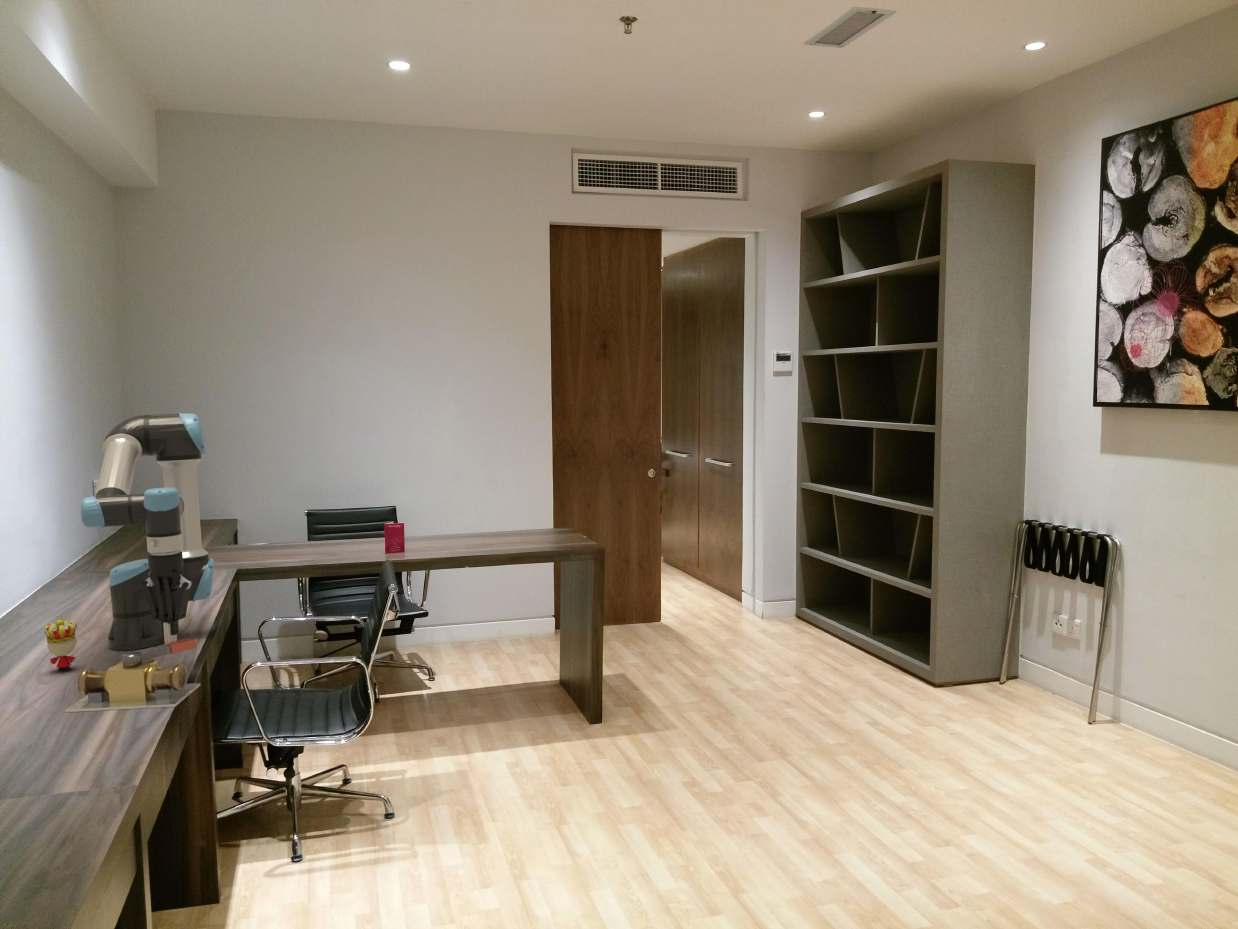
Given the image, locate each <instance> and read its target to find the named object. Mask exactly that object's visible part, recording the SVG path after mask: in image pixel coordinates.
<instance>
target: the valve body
mask: <svg viewBox="0 0 1238 929" xmlns="http://www.w3.org/2000/svg"><path fill="white" fill-rule="evenodd" d="M188 678H189V672H188V667H187V665H186V664H184V663H178V664H176V665H175V666H173V667H168V668H164V667H163V668H162V667H161V665H159V664H158V659H156V658H154V659H149V660H145V661H142V663H141V664H139V665H135V666H128V667H126V666H123V664H122V661H119V662H118V663H117V664H116V665H113V666H110V667H108V668H107V670H105V671H104V670H103V671H96V670H95V669H94V668H92V667H91V668H84V669H82V670H81V671H80V673H79V676H78V679H77V688H78V690H77V691H78V693H79V694H80V695H81V696H83V697H82V698H80V699H79V700H77V701H76V702H75V703H73V704H71V705H70V706H68V707H66V708H65V709H64V712H65V713H75V712H76V713H77V712H79V713H80V712H93V711H94V712H96V711H99V712H100V711H116V710H119V711H120V710H137V709H153V708H154V709H156V708H174V707H175V708H176V707H177V706H178V705H179V704H180V703H181V702H182V701H184V700H185V699H186V698H187V697H189V696H190V695H191V694H192V693H194V691H196V690H197V689H198V688H199V687H201V683H200V682H195V683H188Z"/></svg>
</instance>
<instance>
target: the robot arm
mask: <svg viewBox="0 0 1238 929" xmlns="http://www.w3.org/2000/svg"><path fill="white" fill-rule="evenodd" d="M203 430H204V429H203V426H202V421H201V419H200V417H199V416H198V415H197V414H195V413H187V412H186V413H182V412H179V413H162V414H158V413H157V414H137V415H133V416H131V417H128V418H125V419H124V420H122V421H120V422H118V424H116V425H115V426H113V427H112V428H111V430H110V431H109V432H107V434H106V435H105V437H104V440H103V442H102V446H101V451H102V454H103V455H104V457H103V461H102V464H101V469H100V473H99V477H98V480H97V481H98V482H97V485H96V489H95V495H92V496H88V497H87V496H86V497H85V498H83V499H82V500H81V503H80V517H81V521H82V524H83V526H84V527H86V528H102V529H104V528H107V527H109V528H111V527H118V526H119V527H120V526H121V527H122V526H132V525H133V526H134V525H145V529H146V532H145V533H146V547H147V548H146V549H147V553H149V554H148V555H147V558H142V559H136V560H131V561H128V562H125V563H122V564H119V565H116V566H114V567H113V568H112V569H111V570H110V571H109V584H108V587H109V588H110V589H109V590H110V597H111V598H110V601H111V611H112V621H111V625H110V629H109V633H108V637H107V648H108V649H109V650H113V651H133V650H135V651H136V650H140V649H141V650H142V649H147V648H151V647H155V646H157V645H158V646H159V645H161V644H163V643H164V644H165V643H169V642H173V641H177V640H178V634H179V632H180V628H179V627H180V626H179V621H180V620H183V619H186V617H187V612H188V604H189V602H196V601H201V600H206V599H209V598H210V597H211V595H212V593H213V586H214V573H215V559H214V558H212V557H209V552H208V551H207V550H205V549H204V548H203V545H202V544H203V543H202V530H201V518H200V517H201V516H200V502H199V491H198V490H199V489H198V475H197V465H198V464H199V463H200V462H201V461H202V454H206V452H207V446H206V440H205V434H204V431H203ZM147 456H148V457H150V456H151V457H152V456H155V461H156V463H157V464H158V465H159V466H161V468H162V473H163V474H162V475H163V487H156V488H149V489H147V490H145V491H144V493H136V494H133V493H132V494H131V492H132V491H131V490H132V485H133V479H134V475H135V469H136V464H137V461H138V460H140V458H141V457H147Z"/></svg>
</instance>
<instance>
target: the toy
mask: <svg viewBox="0 0 1238 929" xmlns="http://www.w3.org/2000/svg"><path fill="white" fill-rule="evenodd" d="M56 617H58V619H57V621H56V622H55V623H52V622H51V623H49V624H47V625H45V626H44V628H43V633H44V635H45V636H46V643H47V649H48V651H49V653H51V655H54V656H55V657H51V658H49V659H50V660H49V663H50V664H52V665H56V666H55V667H56V668H58V669H57V672H58V673H60V672H69V671H71V670H72V669H71V667H70V666H71V665H72V663H76V662H77V660H78V659H77V657H76V656H70V654H72V652H74V650H75V649H76V645H77V640H76V630H77V628H78V625H77V623H76V622H75V621H71V620H66V621H64V620H63V619H61V617H63V616H62V615H61V613H58V615H56ZM66 626H67V628H65V627H66ZM54 629H56V630H54ZM46 631H47V632H46ZM56 663H57V664H56Z"/></svg>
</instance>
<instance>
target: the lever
mask: <svg viewBox="0 0 1238 929" xmlns="http://www.w3.org/2000/svg"><path fill="white" fill-rule="evenodd" d="M196 648H197V639H196V638H194V637H190V636H189V637H186V638H182V639H177V641H173V642H169V643H165V642H164V645H158V646H156V647H155V646H154V647H152V648H151V647H150V648H148V649H147V648H146V649H145V650H141V651H131V652H127V653H123V655H121V662H122V664H123V666H126V667H128V666H135V665H139V664H141V663H142V661H145V660H153V659H156V658H160V657H163V656H167V655H175V654H178V653H182V652H186V651H189V650H192V649H193V650H194V649H196Z"/></svg>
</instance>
